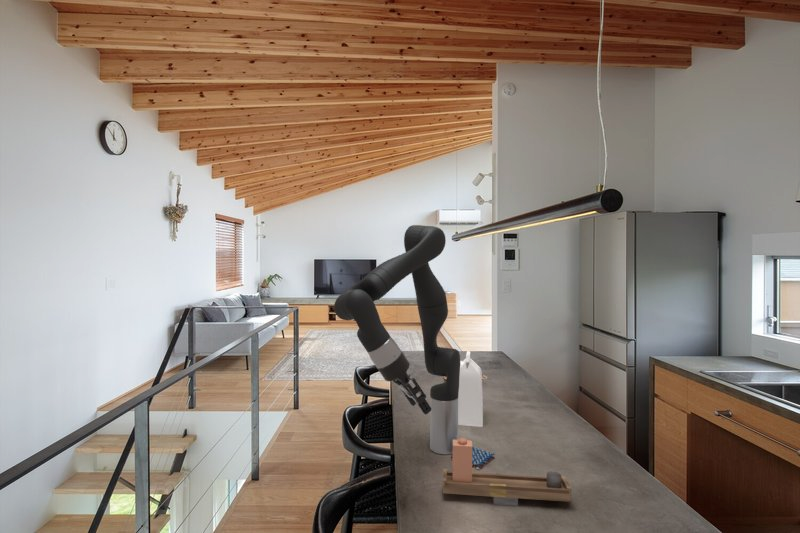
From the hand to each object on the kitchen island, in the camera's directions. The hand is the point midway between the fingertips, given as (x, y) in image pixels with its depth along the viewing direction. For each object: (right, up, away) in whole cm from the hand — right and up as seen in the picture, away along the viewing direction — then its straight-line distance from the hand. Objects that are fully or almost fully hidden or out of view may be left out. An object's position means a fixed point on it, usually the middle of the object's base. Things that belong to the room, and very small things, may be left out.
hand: (421, 407), depth 110 cm
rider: (+11, -20, +2) cm, 23 cm away
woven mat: (+17, -24, +22) cm, 37 cm away
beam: (+22, -24, +1) cm, 32 cm away
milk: (+21, -23, +54) cm, 62 cm away
